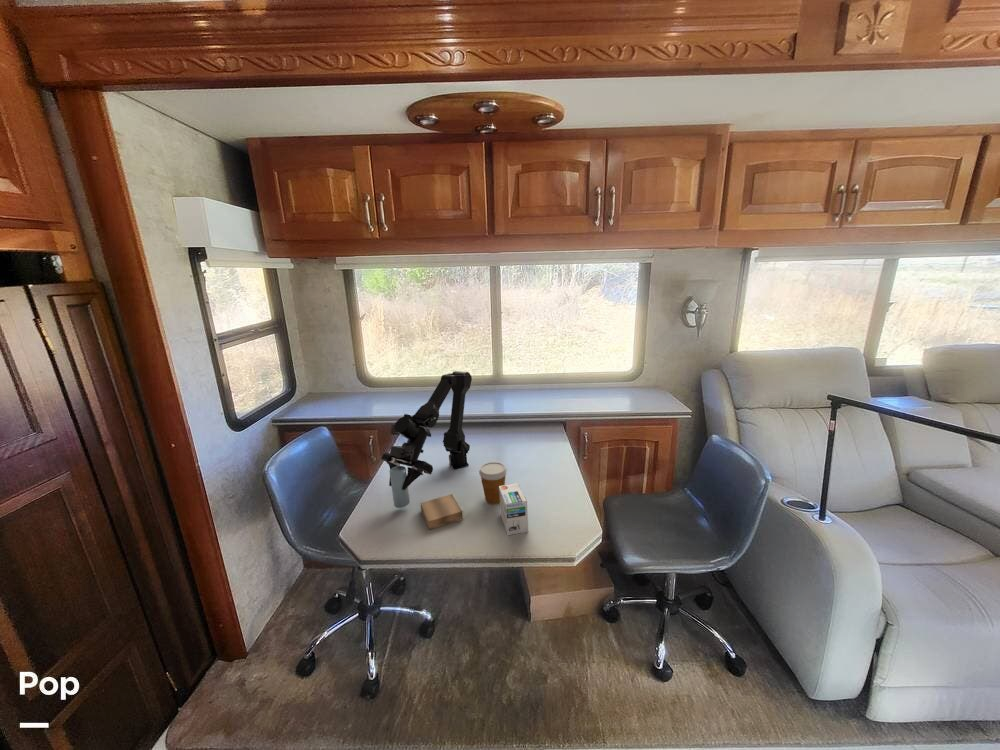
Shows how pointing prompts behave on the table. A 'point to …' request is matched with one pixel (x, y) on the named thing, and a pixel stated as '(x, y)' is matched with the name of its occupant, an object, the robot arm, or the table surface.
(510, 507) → the light bulb box
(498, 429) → the table surface
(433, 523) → the walnut base
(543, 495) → the table surface
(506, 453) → the table surface
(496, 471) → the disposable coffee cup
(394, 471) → the slate canister
